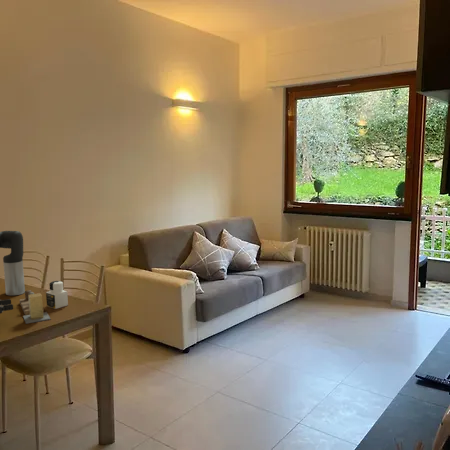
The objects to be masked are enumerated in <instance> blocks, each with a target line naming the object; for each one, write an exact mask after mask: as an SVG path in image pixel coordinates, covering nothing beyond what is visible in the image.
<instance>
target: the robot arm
mask: <svg viewBox="0 0 450 450" xmlns="http://www.w3.org/2000/svg"><path fill="white" fill-rule="evenodd" d="M0 249H10V253H9V254H7V255H4V256H3V257H2V259H3V261H2V262H3V272H4V286H5V295H6V296H19V295H23V294H25V291H26V288H25V274H24V261H23V258H24V236H23V234H22V232H20V231H18V230H2V231H0ZM12 310H14V304H13V303H12V299H10V298H9V299H0V315H1V314H3V313H4V312H6V311H12Z"/></svg>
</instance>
